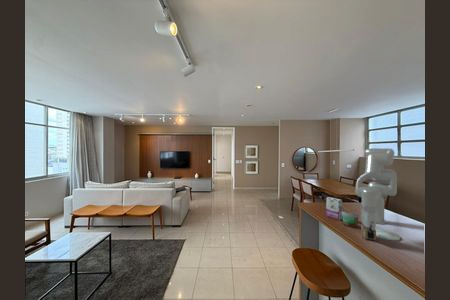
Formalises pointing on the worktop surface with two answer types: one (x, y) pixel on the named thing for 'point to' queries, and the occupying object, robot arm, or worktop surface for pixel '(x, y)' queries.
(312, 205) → the worktop surface
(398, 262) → the worktop surface
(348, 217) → the food container
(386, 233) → the dish
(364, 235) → the walnut block
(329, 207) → the candy bar box
